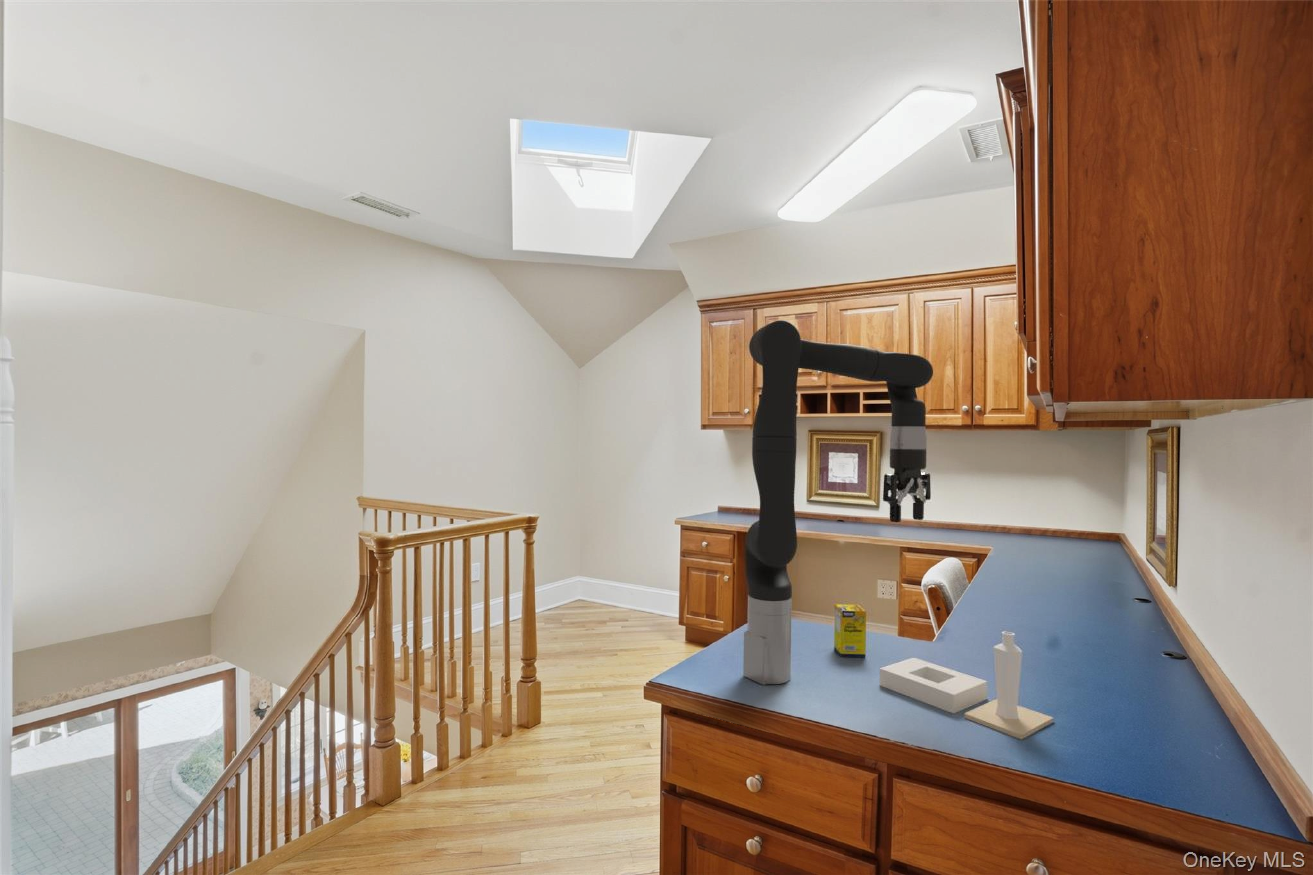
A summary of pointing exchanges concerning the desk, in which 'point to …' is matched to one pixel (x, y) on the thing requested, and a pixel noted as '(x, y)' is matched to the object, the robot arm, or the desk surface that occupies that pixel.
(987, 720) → the mat
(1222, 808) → the desk surface
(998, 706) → the perfume bottle
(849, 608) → the supplement box
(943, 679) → the rectangular block
